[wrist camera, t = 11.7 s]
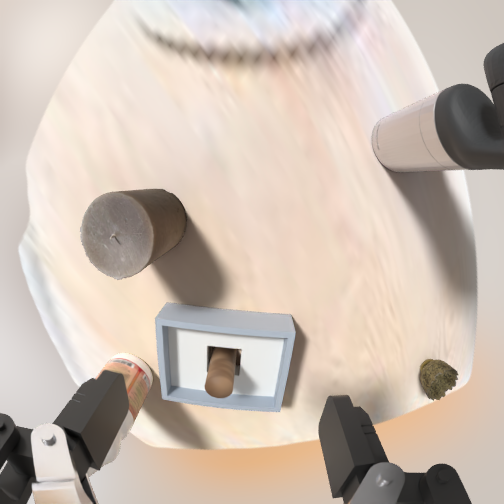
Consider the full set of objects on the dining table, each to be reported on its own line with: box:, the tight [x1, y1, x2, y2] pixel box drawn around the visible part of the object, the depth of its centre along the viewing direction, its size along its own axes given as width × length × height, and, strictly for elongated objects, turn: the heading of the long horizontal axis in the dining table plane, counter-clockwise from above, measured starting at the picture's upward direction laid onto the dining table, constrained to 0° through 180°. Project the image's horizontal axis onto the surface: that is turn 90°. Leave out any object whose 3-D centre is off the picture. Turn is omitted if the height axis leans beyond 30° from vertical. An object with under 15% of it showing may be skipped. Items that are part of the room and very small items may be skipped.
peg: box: [205, 346, 237, 398], centre depth 41 cm, size 4×4×10 cm
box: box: [155, 302, 296, 412], centre depth 43 cm, size 20×16×6 cm
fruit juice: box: [87, 353, 153, 477], centre depth 34 cm, size 9×9×28 cm
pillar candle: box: [80, 189, 187, 280], centre depth 34 cm, size 10×10×15 cm
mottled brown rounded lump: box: [420, 359, 458, 401], centre depth 43 cm, size 8×7×8 cm
